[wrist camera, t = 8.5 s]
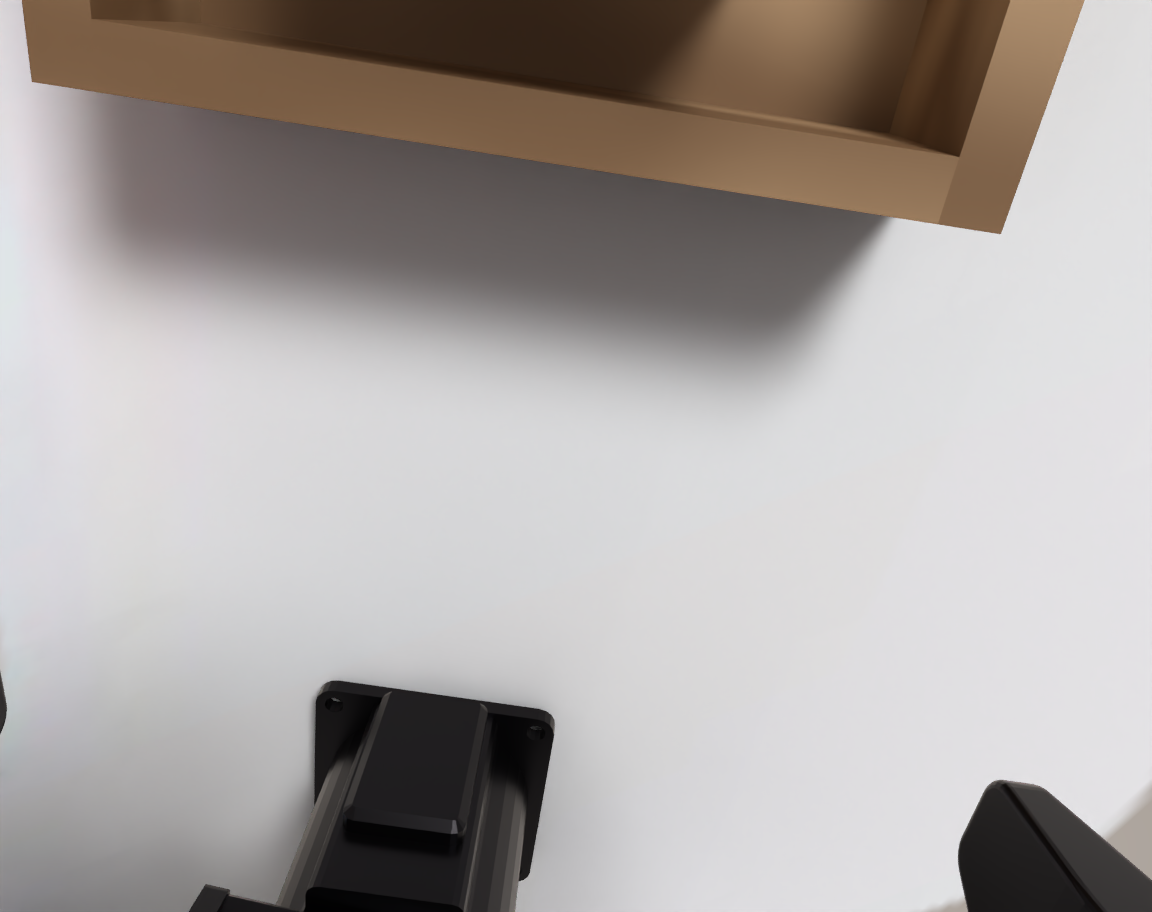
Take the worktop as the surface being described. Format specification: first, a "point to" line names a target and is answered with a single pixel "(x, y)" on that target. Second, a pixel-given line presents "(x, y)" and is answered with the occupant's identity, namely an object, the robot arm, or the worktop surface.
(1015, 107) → the walnut crate
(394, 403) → the worktop surface
